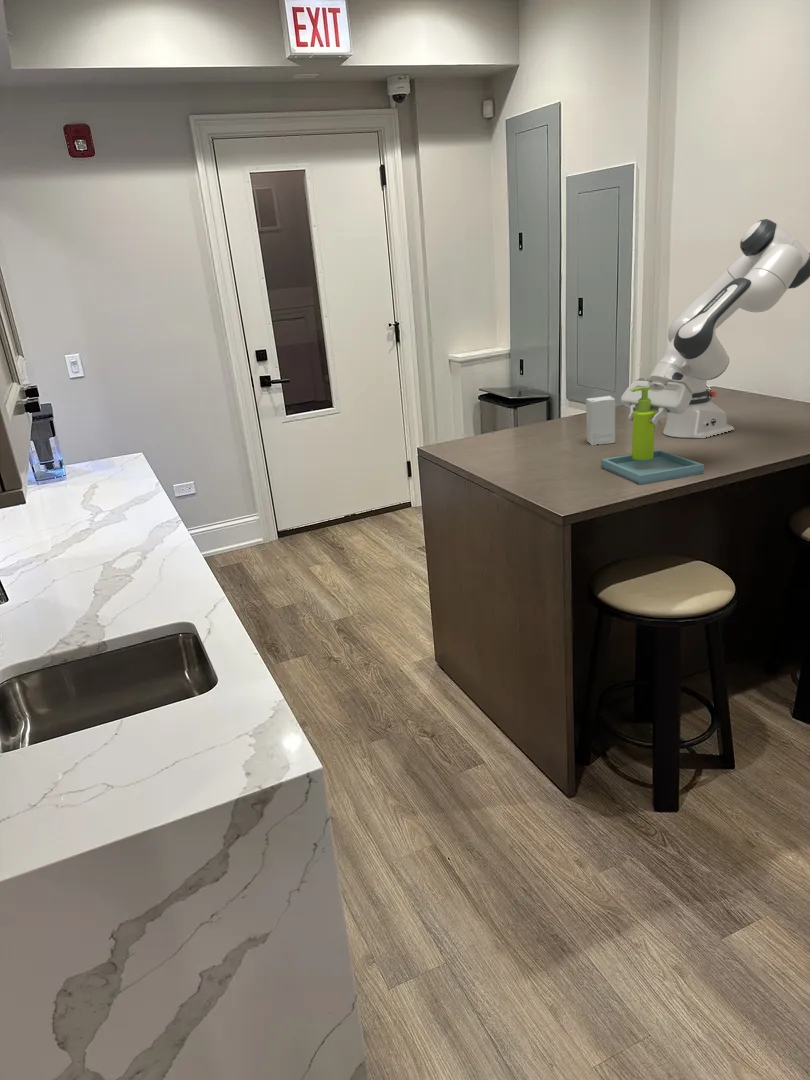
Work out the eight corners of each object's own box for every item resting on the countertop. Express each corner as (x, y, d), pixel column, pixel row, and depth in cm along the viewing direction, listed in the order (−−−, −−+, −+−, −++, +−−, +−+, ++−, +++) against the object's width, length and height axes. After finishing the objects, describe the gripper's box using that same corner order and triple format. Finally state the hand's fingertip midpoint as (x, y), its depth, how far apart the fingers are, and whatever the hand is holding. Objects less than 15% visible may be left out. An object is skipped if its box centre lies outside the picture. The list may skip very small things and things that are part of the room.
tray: (660, 457, 221) (660, 449, 220) (703, 473, 203) (704, 464, 202) (600, 467, 216) (601, 459, 215) (639, 484, 198) (640, 475, 197)
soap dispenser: (625, 456, 212) (626, 386, 205) (648, 454, 212) (651, 384, 206) (632, 461, 207) (634, 390, 200) (656, 459, 207) (659, 387, 200)
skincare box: (610, 439, 246) (611, 395, 241) (615, 443, 240) (616, 398, 235) (585, 441, 246) (585, 397, 241) (590, 446, 240) (590, 400, 235)
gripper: (631, 371, 213) (607, 410, 212) (691, 376, 197) (666, 419, 195) (640, 384, 217) (617, 423, 216) (701, 390, 201) (676, 432, 199)
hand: (641, 421), depth 205 cm, fingers closed on soap dispenser, 6 cm apart
